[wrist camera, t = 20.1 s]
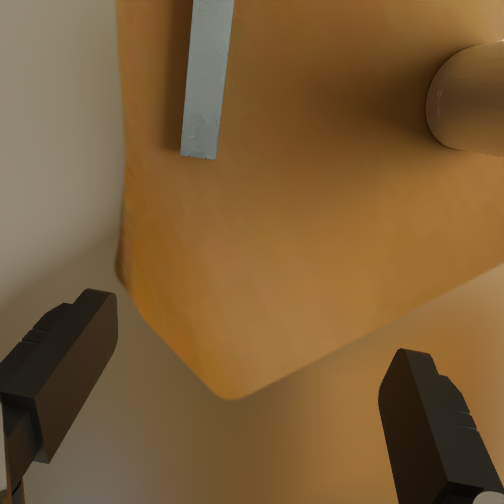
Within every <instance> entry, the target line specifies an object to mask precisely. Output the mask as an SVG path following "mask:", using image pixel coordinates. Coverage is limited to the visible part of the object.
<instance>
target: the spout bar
mask: <svg viewBox="0 0 504 504" xmlns="http://www.w3.org/2000/svg"><path fill="white" fill-rule="evenodd" d="M233 8H234V0H194V1H193V13H192V24H191V36H190V47H189V59H188V70H187V82H186V93H185V105H184V116H183V128H182V139H181V151H180V155H183V156H190V157H197V158H204V159H212V160H216V152H217V143H218V135H219V126H220V118H221V109H222V101H223V92H224V84H225V75H226V67H227V58H228V50H229V41H230V33H231V24H232V16H233Z"/></svg>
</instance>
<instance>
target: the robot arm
mask: <svg viewBox="0 0 504 504" xmlns="http://www.w3.org/2000/svg"><path fill="white" fill-rule="evenodd" d="M426 119H427V124H428V126H429V128H430V131H431V133H432V134H433V135H434V137H435V138H436V139H437V140H438V141H439V142H440V143H442V144H443V145H445V146H447V147H450V148H452V149H458V150H464V151H470V152H476V153H481V154H487V155H493V156H499V157H504V40H500V41H495V42H490V43H486V44H481V45H477V46H473V47H469V48H466V49H463V50H461V51H459V52H458V53H456V54H454V55H453V56H452V57H450V58H449V59H448V60H447V61H446V62H445V63H444V64H443V65H442V66H441V68H440V69H439V70H438V71H437V73H436V75H435V76H434V78H433V80H432V82H431V85H430V87H429V90H428V93H427V98H426ZM117 339H118V318H117V298H116V295H115V294H114V293H110V292H105V291H100V290H95V289H89V288H88V289H85V290H84V291H83V292H82V294H81V295H80V296H79V297H78V298H77V299H76V301H75V302H74V303H73V304H68V303H62V304H61V305H59V306H57V307H55V308H54V309H52V310H50V311H49V312H47V313H46V314H45V315H43V317H42V318H41V319H40V320H39V321H38V322H37V323H36V324H35V325H34V327H33V329H32V330H30V331H29V332H28V333H27V334H26V335H25V337H24V338H23V339H22V342H19V343H18V344H17V345H16V346H15V347H14V349H13V350H12V351H11V352H10V353H9V354H8V355H7V356H6V357H5V358H4V360H3V361H2V362H1V363H0V504H25V493H24V482H23V475H24V474H25V472H26V471H27V469H28V468H29V466H30V464H31V463H32V461H36V462H41V463H46V464H49V463H50V461H51V459H52V458H53V456H54V454H55V453H56V451H57V449H58V448H59V446H60V444H61V442H62V441H63V439H64V437H65V435H66V434H67V432H68V430H69V429H70V427H71V425H72V423H73V422H74V420H75V418H76V417H77V415H78V413H79V411H80V410H81V408H82V406H83V404H84V403H85V401H86V399H87V398H88V396H89V394H90V392H91V391H92V389H93V387H94V385H95V384H96V382H97V381H98V379H99V377H100V375H101V374H102V372H103V370H104V368H105V367H106V365H107V363H108V362H109V360H110V358H111V356H112V354H113V352H114V350H115V347H116V344H117ZM378 396H379V397H378V405H379V411H380V416H381V421H382V425H383V430H384V435H385V440H386V444H387V449H388V454H389V459H390V464H391V468H392V473H393V478H394V482H395V488H396V492H397V497H398V502H399V504H504V488H503V485H502V483H501V481H500V479H499V476H498V474H497V472H496V470H495V468H494V465H493V463H492V461H491V458H490V456H489V454H488V452H487V449H486V447H485V445H484V443H483V440H482V438H481V436H480V434H479V432H477V430H476V425H475V422H474V420H473V418H472V416H470V414H469V413H470V411H469V409H468V407H467V405H466V402H465V400H464V398H463V396H462V393H461V392H460V391H459V390H458V389H457V388H456V386H455V385H454V384H453V383H452V382H451V381H450V379H449V378H448V377H447V376H442V375H439V374H438V372H437V369H436V366H435V364H434V361H433V359H432V357H431V355H430V354H428V353H423V352H419V351H413V350H408V349H402V348H400V349H399V350H397V352H396V354H395V356H394V358H393V360H392V362H391V364H390V366H389V368H388V370H387V373H386V375H385V377H384V379H383V381H382V383H381V385H380V389H379V395H378Z"/></svg>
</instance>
